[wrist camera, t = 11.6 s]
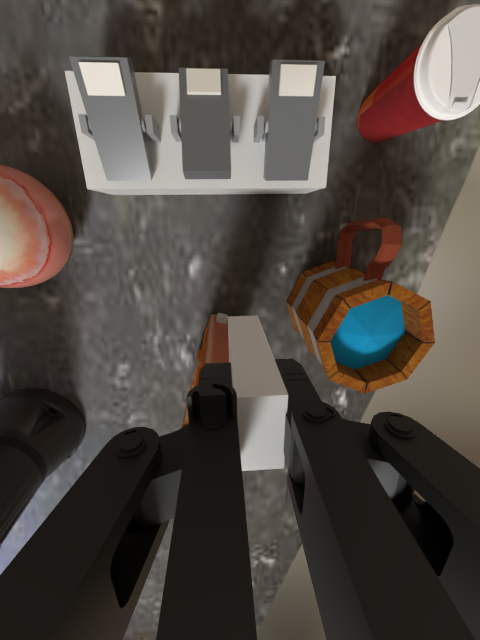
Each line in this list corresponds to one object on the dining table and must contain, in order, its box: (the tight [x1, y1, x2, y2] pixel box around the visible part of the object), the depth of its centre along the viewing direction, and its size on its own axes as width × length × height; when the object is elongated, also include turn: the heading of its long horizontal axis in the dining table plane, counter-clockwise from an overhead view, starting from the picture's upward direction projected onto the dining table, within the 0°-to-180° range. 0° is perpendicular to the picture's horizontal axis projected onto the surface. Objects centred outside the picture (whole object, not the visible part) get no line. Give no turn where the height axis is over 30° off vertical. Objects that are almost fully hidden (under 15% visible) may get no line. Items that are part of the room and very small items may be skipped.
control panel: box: [182, 313, 229, 428], centre depth 36 cm, size 21×7×15 cm
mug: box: [286, 217, 435, 394], centre depth 36 cm, size 20×14×15 cm
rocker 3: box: [263, 60, 325, 181], centre depth 26 cm, size 5×9×2 cm, turn 1°
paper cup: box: [357, 4, 480, 142], centre depth 29 cm, size 8×8×14 cm
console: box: [65, 71, 336, 195], centre depth 30 cm, size 26×10×11 cm, turn 91°
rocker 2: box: [179, 68, 232, 179], centre depth 25 cm, size 5×9×2 cm, turn 1°
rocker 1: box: [69, 56, 154, 181], centre depth 25 cm, size 5×9×2 cm, turn 1°
